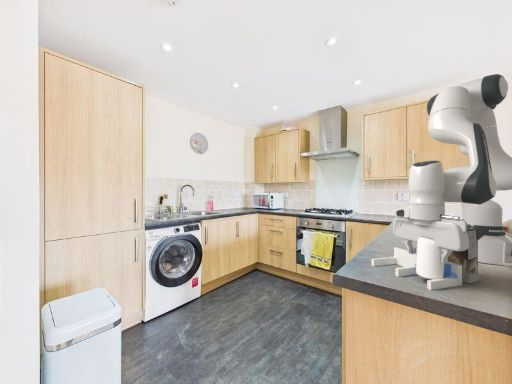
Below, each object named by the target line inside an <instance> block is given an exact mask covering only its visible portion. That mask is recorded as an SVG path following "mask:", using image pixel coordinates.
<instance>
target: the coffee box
mask: <svg viewBox="0 0 512 384" xmlns="http://www.w3.org/2000/svg"><path fill="white" fill-rule="evenodd" d="M467 234H468V239H469V248H468V249H467V250H465V251H454V250H452V251H453V252H452V253H451V254H450V256H449V257H448V262H452V263H455V264H459V265H462V283H466V284H471V283H474V282H478V281H479V262H478V229H471V228H467Z"/></svg>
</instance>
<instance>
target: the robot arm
mask: <svg viewBox="0 0 512 384" xmlns="http://www.w3.org/2000/svg"><path fill="white" fill-rule="evenodd" d="M508 91H509V83H508V81H507V80H506V78H505V77H504V75H502V74H499V73H496V74H495V73H494V74H490V75H484V77H481V78H478V79H474V80H470V81H467V82H464V83H462V84H459V85H457V86H451V87H448V88H445V89H443V90H442V91H440V92H439V93H437V94H435V95H433V96H432V97H430V99H429V100H428V102H427V104H426V112H427V115H428V116H429V117H428V123H427V133H428V135H429V136H430V137H431V138H432V139H434V140H435V141H437V142H439V143H443V144H448V145H449V144H450V145H457V146H458V149H459V151H460V153H461V154H463V155H465V156H468V160H469V164H466V165H465V164H464V165H458V166H454V167H451V168H447V169H446V170H445V171H444V168H443V163H442V161H440V160H425V161H424V160H423V161H418V162H415V163H413V164H411V166H410V168H409V172H408V173H409V174H408V181H407V183H408V184H407V187H408V188H407V190H408V193H409V198H408V203H407V204H408V205H407V206H406V207H402V208H399V209H398V208H397V209H394V211H393V216H394V218H393V220H392V221H393V222H392V233H393V235H394V237H395V238H399V239H403V243H404V244H405V247H406V248H407V250H408V253H410V254H415V253H417V247H416V248H415V247H414V246H413V242H415V243H417V242H418V239H419V238H420V236H421V237H426V238H432V239H434V242H435V244H436V245H437V247H441V248H442V252H444V253H443V254H442V256H441V257H440V262H441V263H444V264H445V263H448V257H449V256H450V254H451V253H452V252H453V251H452V250H454V251H465V250H467V249H468V248H469V239H468V234H467V228H471V229H478V263H482V264H490V265H497V266H498V265H499V266H505V267H506V266H507V267H511V266H512V241H511V239H509V238H508V237H507V233H506V232H509V231H510V227H509V226H504V225H503V208H502V206H501V205H500V204H499V203H498V202H497V201H494V200H492V199H494V198H495V197H496V193H497V191H511V190H512V157H511V156H510V155H509V154H508V153H507V152H506V151H505V150H504V149H503V147H502V145H501V142H500V138H499V134H498V127H497V120H496V116H495V115H496V114H495V112H494V110H495V109H496V108H497V106H498V105H500V104H501V103H503V101H504V100H505V98H506V97H507V96H508V95H507V93H508ZM445 203H461V209H462V218H461V216H458V215H457V216H456V215H454V216H453V215H447V214H446V204H445Z"/></svg>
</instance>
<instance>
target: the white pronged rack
mask: <svg viewBox="0 0 512 384" xmlns="http://www.w3.org/2000/svg"><path fill="white" fill-rule="evenodd" d="M416 261H417V252H416V253H415V254H410V253H408V249H404V248H402V247H401V248H400V247H396V246H395V247H393V256H388V257H378V258H377V257H376V258H371V266H372V267H381V266H389V265H398V266H401V267H395V276H396V277H398V278H399V277H407V276H415V275H417V273H416ZM426 286H427V287H426V289H427V290H430V291H434V290H440V289H447V288H454V287H460V286H463V282H462V265H459V264H455V263H452V262H448V263H445V264H444V276H443V278H441V279H434V280H430V279H426Z"/></svg>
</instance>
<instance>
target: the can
mask: <svg viewBox="0 0 512 384" xmlns="http://www.w3.org/2000/svg"><path fill="white" fill-rule="evenodd" d="M416 243H417V244H416V253H417V261H416V273H417V274H416V275H417V276H418V277H421V278H423V279H426V280H434V279H441V278H443V276H444V263H441V262H440V257H441V256H442V254H443V253H444V252H442V248H441V247H437V245H436V244H435V242H434V239H432V238H426V237H421V236H420V238H419V239H418V242H416Z"/></svg>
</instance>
